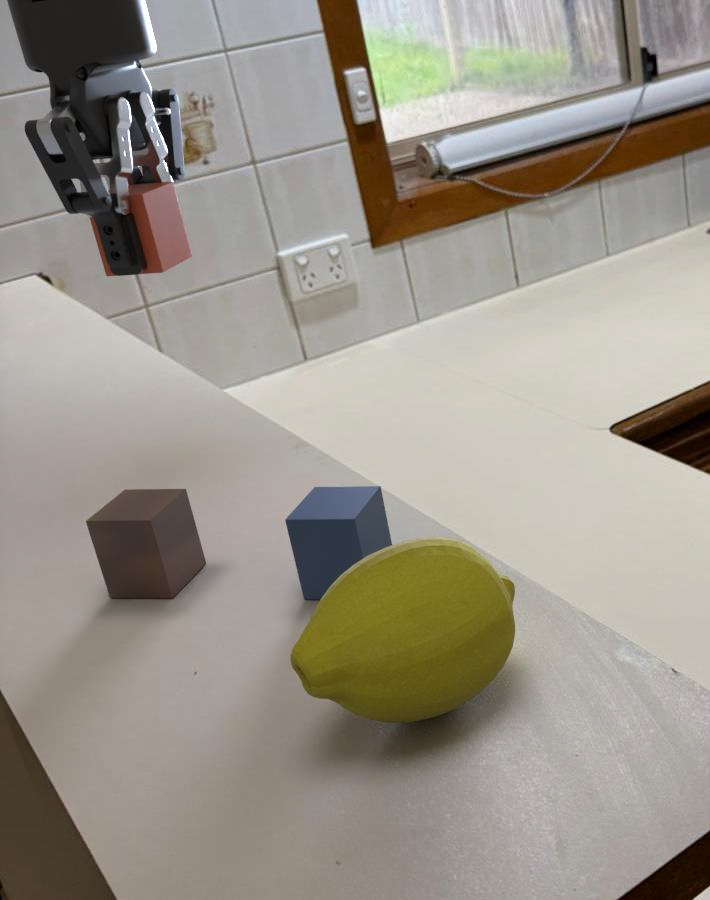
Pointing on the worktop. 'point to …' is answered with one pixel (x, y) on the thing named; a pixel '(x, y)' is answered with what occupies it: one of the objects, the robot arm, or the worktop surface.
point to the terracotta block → (155, 226)
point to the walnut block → (147, 543)
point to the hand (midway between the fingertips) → (148, 262)
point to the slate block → (335, 533)
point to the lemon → (408, 632)
